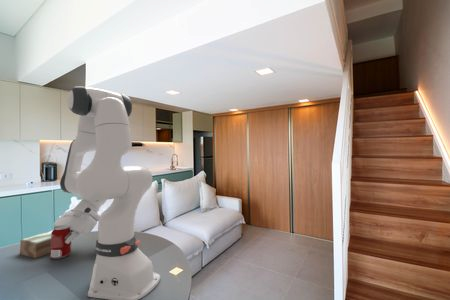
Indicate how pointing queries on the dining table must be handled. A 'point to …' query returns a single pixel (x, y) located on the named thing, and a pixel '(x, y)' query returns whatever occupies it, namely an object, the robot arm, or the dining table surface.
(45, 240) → the walnut pedestal
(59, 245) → the soda can
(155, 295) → the dining table surface
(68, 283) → the dining table surface
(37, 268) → the dining table surface
